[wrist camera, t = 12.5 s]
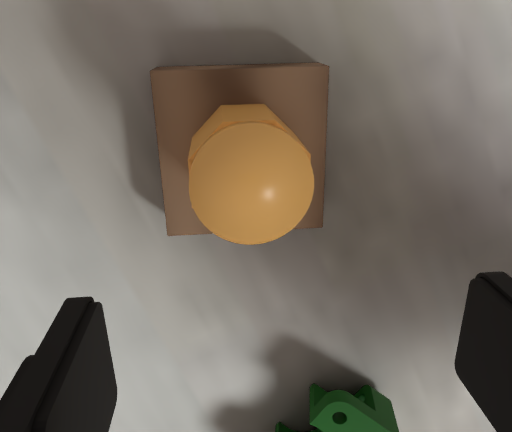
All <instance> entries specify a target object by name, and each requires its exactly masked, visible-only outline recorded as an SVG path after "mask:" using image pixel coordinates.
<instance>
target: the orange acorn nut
mask: <svg viewBox="0 0 512 432" xmlns="http://www.w3.org/2000/svg"><path fill="white" fill-rule="evenodd" d="M188 168H189V196H190V201H191V205H192V208H193V209H194V211H195V213H196V215H197V217H198V218H199V220H200V221H201V222H202V223H203V225H204V226H205V227H206V228H207V229H209V230H210V231H211V232H212V233H214V234H215V235H217V236H219V237H220V238H222V239H225V240H227V241H230V242H234V243H238V244H246V245H254V244H262V243H266V242H270V241H272V240H275V239H277V238H279V237H281V236H283V235H285V234H286V233H288V232H289V231H291V230H292V229H293V228H294V227H295V226H296V225H297V224H298V223H299V222H300V221H301V220H302V218H303V217H304V215H305V214H306V212H307V210H308V208H309V206H310V203H311V201H312V197H313V193H314V175H313V169H312V166H311V154H310V153H309V151H308V150H307V149H306V148H305V146H304V145H303V144H302V142H301V141H300V140H299V139H298V137H297V136H296V135H295V133H294V132H293V131H292V130H291V129H289V128H288V127H287V126H286V125H285V124H284V123H283V122H282V121H281V120H280V119H279V118H278V117H277V116H276V115H275V114H274V113H273V112H272V111H271V110H270V109H269V108H268V107H267V106H266V105H265V104H241V105H221V106H220V107H219V108H218V109H217V110H216V111H215V112H214V113H213V114H212V116H211V117H210V118H209V119H208V120H207V121H206V122H205V123H204V124H203V126H202V127H201V128H200V129H199V130H198V131H197V132H196V133H195V134H194V136H193V137H192V141H191V146H190V151H189V156H188Z"/></svg>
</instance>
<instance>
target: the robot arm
mask: <svg viewBox="0 0 512 432" xmlns="http://www.w3.org/2000/svg"><path fill="white" fill-rule="evenodd" d="M455 370H456V373H457V375H458V377H459V378H460V380H461V381H462V383H463V384H464V386H465V387H466V388H467V390H468V391H469V393H470V394H471V396H472V397H473V398H474V400H475V401H476V403H477V404H478V406H479V407H480V408H481V410H482V411H483V413H484V414H485V416H486V417H487V418H488V420H489V421H490V423H491V424H492V426H493V427H494V428H495V430H496V431H497V432H512V278H511V277H510V276H509V275H507V274H506V273H504V272H485V273H479V274H477V276H476V278H475V279H472V280H471V281H470V284H469V289H468V294H467V299H466V305H465V310H464V315H463V320H462V326H461V331H460V336H459V342H458V347H457V352H456V358H455ZM116 401H117V385H116V379H115V374H114V368H113V363H112V357H111V352H110V346H109V341H108V335H107V330H106V324H105V319H104V313H103V308H102V304H101V303H100V302H94V300H93V298H92V297H76V298H67V299H66V300H65V301H64V303H63V305H62V307H61V309H60V310H59V312H58V314H57V316H56V317H55V319H54V321H53V323H52V325H51V326H50V328H49V330H48V332H47V333H46V335H45V337H44V339H43V341H42V342H41V344H40V346H39V348H38V349H37V351H36V353H35V355H30V356H28V357H26V358H25V360H24V361H23V362H22V364H21V366H20V367H19V369H18V371H17V373H16V374H15V376H14V378H13V379H12V381H11V383H10V384H9V386H8V388H7V390H6V391H5V393H4V395H3V396H2V398H1V400H0V432H108V431H109V428H110V424H111V420H112V417H113V413H114V409H115V406H116Z"/></svg>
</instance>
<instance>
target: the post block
mask: <svg viewBox="0 0 512 432" xmlns="http://www.w3.org/2000/svg"><path fill="white" fill-rule="evenodd" d="M150 77H151V86H152V95H153V105H154V114H155V123H156V133H157V142H158V151H159V161H160V170H161V179H162V189H163V198H164V207H165V216H166V226H167V235H168V236H176V235H194V234H212V232H211V231H210V230H209V229H207V228H206V227H205V226H204V225H203V223H202V222H201V221H200V220H199V218H198V217H197V215H196V213H195V211H194V209H193V208H192V205H191V201H190V196H189V168H188V156H189V151H190V146H191V141H192V137H193V136H194V134H195V133H196V132H197V131H198V130H199V129H200V128H201V127H202V126H203V124H204V123H205V122H206V121H207V120H208V119H209V118H210V117H211V116H212V114H213V113H214V112H215V111H216V110H217V109H218V108H219V107H220V106H221V105H241V104H265V105H266V106H267V107H268V108H269V109H270V110H271V111H272V112H273V113H274V114H275V115H276V116H277V117H278V118H279V119H280V120H281V121H282V122H283V123H284V124H285V125H286V126H287V127H288V128H289V129H291V130H292V131H293V132H294V133H295V135H296V136H297V137H298V139H299V140H300V141H301V142H302V144H303V145H304V146H305V148H306V149H307V150H308V151H309V153H310V154H311V166H312V169H313V175H314V193H313V197H312V201H311V203H310V206H309V208H308V210H307V212H306V214H305V215H304V217H303V218H302V220H301V221H300V222H299V223H298V224H297V225H296V226H295V227H294V228H293V229H302V228H321V227H323V204H324V180H325V156H326V131H327V107H328V83H329V66H327V65H324V64H321V63H318V62H317V63H280V64H244V65H208V66H172V67H155V68H154V69H152V70H151V71H150Z"/></svg>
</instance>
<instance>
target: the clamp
mask: <svg viewBox="0 0 512 432" xmlns="http://www.w3.org/2000/svg"><path fill="white" fill-rule="evenodd" d="M310 425H313V426H315V427H317V428H318V429H316V430H313V431H309V432H399V430H398V426H397V422H396V418H395V415H394V411H393V407H392V404H391V401H390V400H389V399H388V398H387V397H385V396H384V395H382V394H381V393H379V392H378V391H376V390H375V389H374V388H372V387H371V386H369V385H365V386H363V387H362V388H361V389H360V390H359V391H358V392H357V393H356V394H355V395H354V396H353V395H352V394H350V393H348V392H346V391H343V390H333V391H330V392H327V391H325V390H324V389H322V388H321V387H319V386H318V385H316V384H314V383H313V384H312V385H311V386H310ZM275 432H298V431H294V430H291V429H289V428H287V427H286V426H284V425H283V424H282V423H281V422H278V424H277V425H276V428H275Z"/></svg>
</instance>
